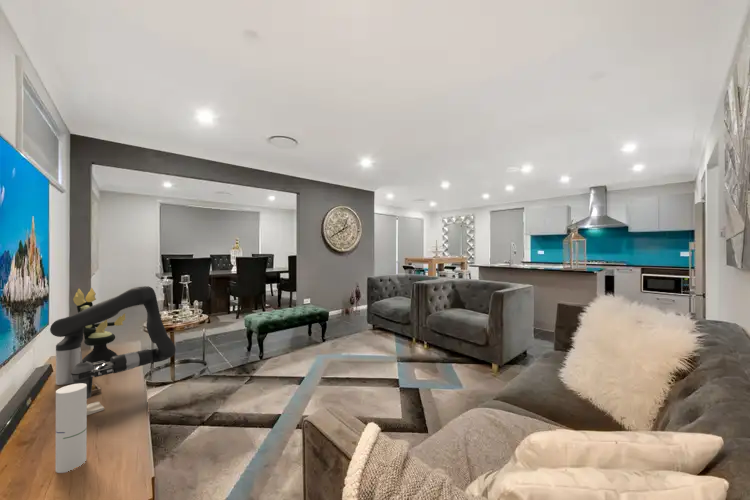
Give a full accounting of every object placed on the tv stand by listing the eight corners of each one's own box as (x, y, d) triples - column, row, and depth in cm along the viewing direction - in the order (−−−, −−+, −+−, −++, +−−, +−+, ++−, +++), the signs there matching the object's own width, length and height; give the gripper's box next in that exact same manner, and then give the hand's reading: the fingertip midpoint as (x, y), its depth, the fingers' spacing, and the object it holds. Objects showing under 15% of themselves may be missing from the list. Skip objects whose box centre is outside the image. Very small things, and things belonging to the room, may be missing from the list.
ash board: (60, 414, 129) (60, 412, 129) (98, 403, 139) (98, 401, 139) (65, 422, 124) (65, 419, 124) (104, 409, 133) (104, 407, 133)
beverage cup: (80, 403, 127) (79, 355, 127) (66, 401, 128) (65, 353, 128) (99, 394, 134) (98, 349, 134) (86, 393, 136) (85, 348, 135)
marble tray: (70, 394, 146) (70, 387, 146) (95, 387, 154) (95, 380, 153) (75, 400, 141) (75, 392, 141) (101, 393, 148) (101, 385, 148)
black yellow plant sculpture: (107, 368, 178) (107, 289, 177) (60, 370, 173) (61, 290, 172) (125, 356, 196) (126, 285, 196) (84, 358, 191) (85, 286, 191)
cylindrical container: (69, 457, 103) (69, 383, 103) (92, 456, 104) (92, 383, 104) (48, 473, 96) (49, 393, 96) (73, 472, 97) (73, 393, 97)
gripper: (119, 350, 147) (71, 361, 133) (130, 357, 138) (80, 369, 125) (120, 366, 147) (72, 378, 134) (130, 374, 139) (80, 387, 125)
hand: (76, 374), depth 129 cm, fingers closed on beverage cup, 7 cm apart
